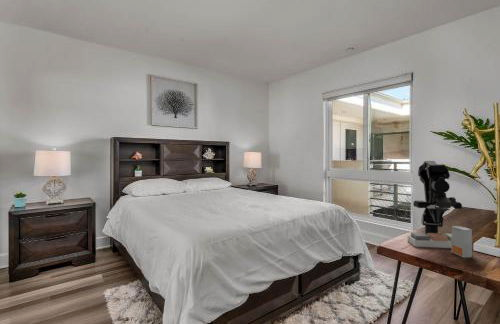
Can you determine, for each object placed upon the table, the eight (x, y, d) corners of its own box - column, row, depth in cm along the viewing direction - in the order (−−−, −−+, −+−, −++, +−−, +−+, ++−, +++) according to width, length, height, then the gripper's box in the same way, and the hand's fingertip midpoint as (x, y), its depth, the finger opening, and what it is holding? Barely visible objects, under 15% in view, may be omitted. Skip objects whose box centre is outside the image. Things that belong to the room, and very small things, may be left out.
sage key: (443, 238, 127) (443, 233, 127) (457, 239, 126) (457, 233, 126) (450, 242, 121) (450, 237, 121) (465, 243, 120) (465, 237, 120)
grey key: (410, 237, 130) (410, 232, 130) (424, 237, 129) (424, 232, 129) (416, 241, 124) (416, 235, 124) (430, 241, 123) (430, 236, 123)
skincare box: (450, 252, 115) (450, 225, 114) (459, 252, 115) (459, 225, 115) (463, 257, 109) (463, 229, 108) (472, 257, 109) (472, 229, 109)
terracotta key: (427, 237, 128) (427, 232, 128) (440, 238, 127) (440, 233, 127) (433, 241, 122) (433, 236, 122) (447, 242, 121) (447, 237, 121)
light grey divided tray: (407, 240, 131) (407, 235, 131) (458, 243, 127) (458, 237, 127) (414, 246, 123) (414, 240, 123) (469, 248, 119) (469, 242, 119)
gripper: (423, 192, 118) (423, 226, 118) (469, 192, 115) (469, 227, 115) (412, 189, 129) (413, 220, 129) (454, 189, 126) (454, 221, 126)
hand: (437, 222), depth 125 cm, fingers closed
